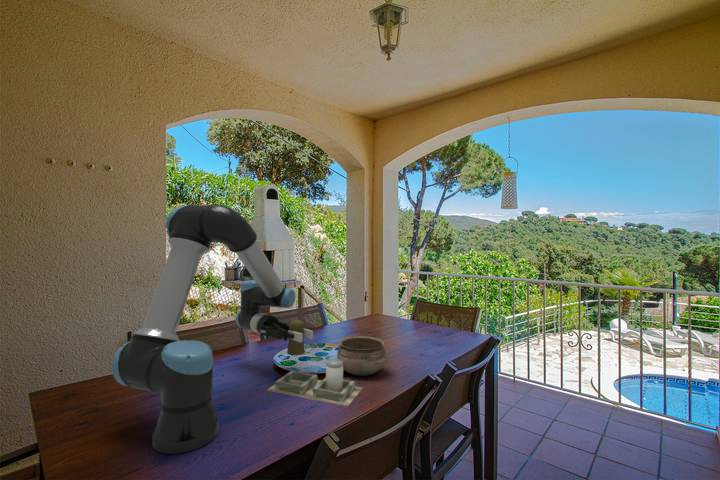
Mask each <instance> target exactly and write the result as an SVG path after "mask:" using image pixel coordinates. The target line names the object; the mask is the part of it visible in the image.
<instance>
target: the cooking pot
mask: <svg viewBox="0 0 720 480" xmlns="http://www.w3.org/2000/svg"><path fill="white" fill-rule="evenodd" d="M338 343H339V344H338V350H337V353H336V359H340V360H342V361H343V371H345V372H346V373H348V374H349V375H353V376H356V377H367V376H372V375H373V374H375V373H377V372H379V371H380V370H381V369H382V368H384V366H385V364H386V362H387V361H388V359H387V352H386V349H385V347H384V346H385V340H382V339H381V338H378V337H374V336H367V335H354V336H347V337H344V338H342V339H340V340H339V342H338Z"/></svg>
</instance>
